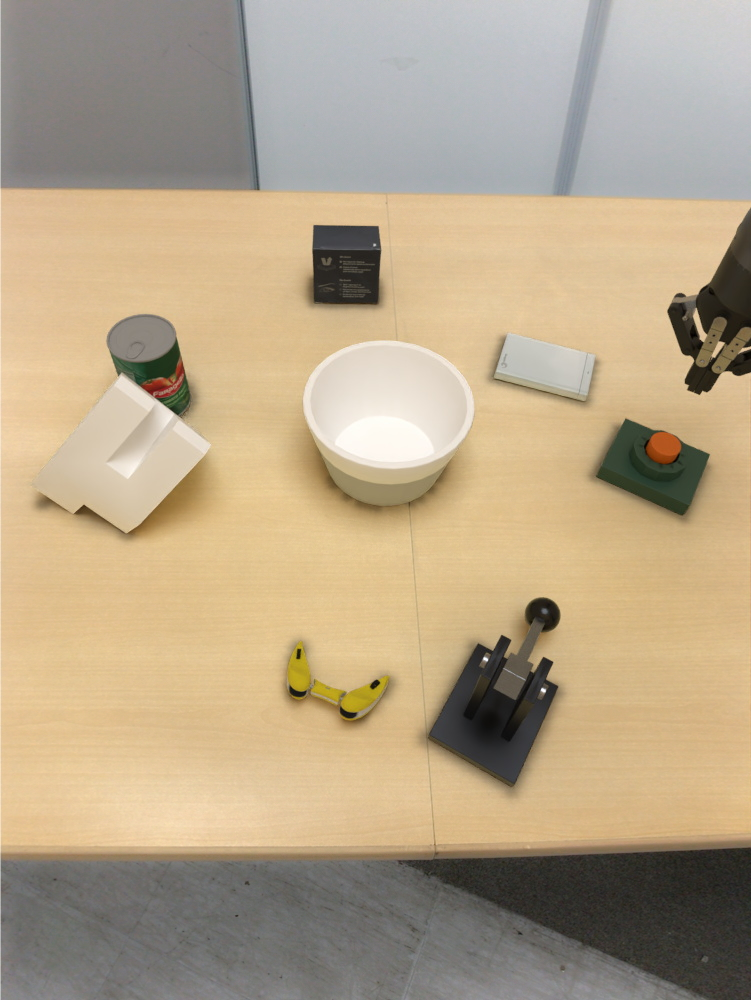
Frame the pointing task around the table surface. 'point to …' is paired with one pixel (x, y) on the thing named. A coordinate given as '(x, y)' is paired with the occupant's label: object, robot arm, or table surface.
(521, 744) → the bracket
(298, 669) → the yellow bent piece
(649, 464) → the button box
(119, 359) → the canned tomato
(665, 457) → the button
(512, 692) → the lever
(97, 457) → the slotted wedge
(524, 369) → the hard drive
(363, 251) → the box
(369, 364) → the bowl
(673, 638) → the table surface
